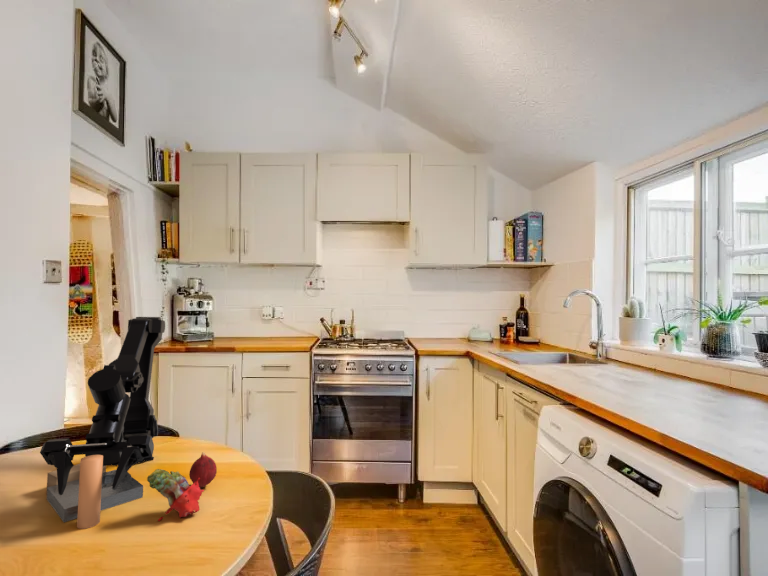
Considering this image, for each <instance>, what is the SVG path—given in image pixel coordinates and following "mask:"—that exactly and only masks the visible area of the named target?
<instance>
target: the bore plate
mask: <svg viewBox="0 0 768 576" xmlns="http://www.w3.org/2000/svg"><path fill="white" fill-rule="evenodd" d="M116 470H117V468H116V469H113V470H109V471H106V472H103V473H102V489H101V509H100V512H101V511H105V510H107V509H111V508H113V507H116V506H120V505H123V504H126V503H130V502H132V501H136V500H138V499H142V498H143V497H144V485H143V484H142V483H141V482H139V481H138V480H136V479H135V477H133V476H132V474H130V473H129V471H128V472H127V473H126V475H125V476H124V478H123V479H122V481H121V482H120V484H119V485H118V487H117V488H116V490H113V489H112V486H113V481H114V477H115V473H116ZM78 496H79V479H78V480H74V481H70V482H67V484H66V488H65V490H64V492H63V495H59V493H58V485H55V486H51V487H47V486H46V501H47V502H48V503H49V505H51V507H52V508H53V510H54V511H55V512H56V515H58V517H59V518H60V519H61V522H63V523H67V522H69V521H73V520H75V519H76V520H77V515H78Z"/></svg>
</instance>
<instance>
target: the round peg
mask: <svg viewBox="0 0 768 576" xmlns="http://www.w3.org/2000/svg"><path fill="white" fill-rule="evenodd" d="M79 461H80V462H79V464H80V477H79V496H78V515H77V518H76V528H77V529H79V530H85V529H90V528H93V527H95V526H97V525H98V524H100V522H101V511H100V509H101V489H102V470H103V455H90V456H86V457H85V456H83V457H82V458H80V459H79Z"/></svg>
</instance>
